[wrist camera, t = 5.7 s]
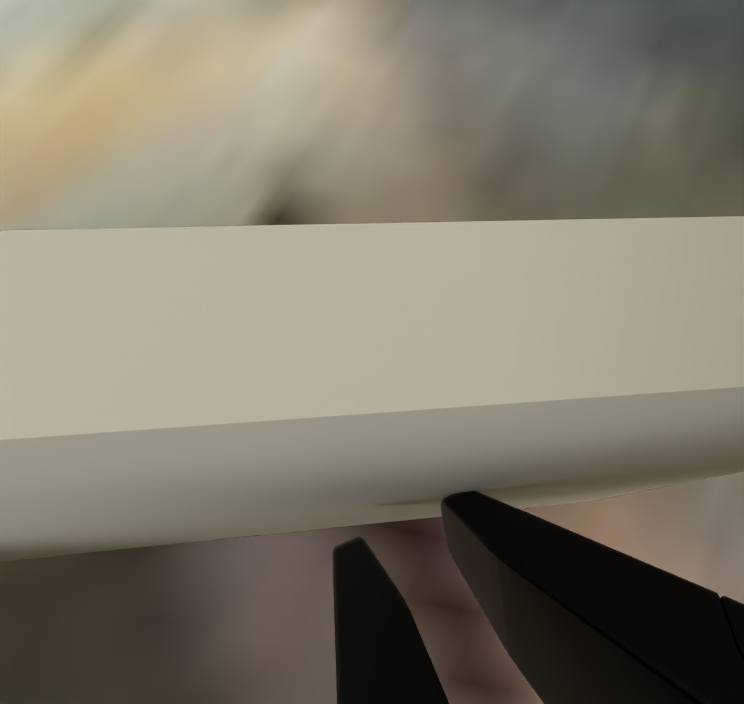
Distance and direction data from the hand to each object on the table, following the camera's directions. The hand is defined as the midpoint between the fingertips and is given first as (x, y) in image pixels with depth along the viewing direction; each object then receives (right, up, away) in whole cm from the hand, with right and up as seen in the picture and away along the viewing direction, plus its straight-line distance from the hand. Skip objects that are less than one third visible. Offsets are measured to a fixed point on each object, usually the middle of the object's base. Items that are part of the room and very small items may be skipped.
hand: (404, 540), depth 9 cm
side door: (-4, 0, +6) cm, 7 cm away
